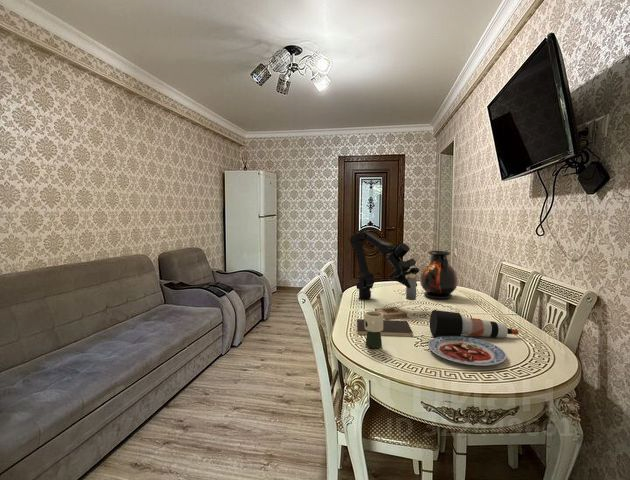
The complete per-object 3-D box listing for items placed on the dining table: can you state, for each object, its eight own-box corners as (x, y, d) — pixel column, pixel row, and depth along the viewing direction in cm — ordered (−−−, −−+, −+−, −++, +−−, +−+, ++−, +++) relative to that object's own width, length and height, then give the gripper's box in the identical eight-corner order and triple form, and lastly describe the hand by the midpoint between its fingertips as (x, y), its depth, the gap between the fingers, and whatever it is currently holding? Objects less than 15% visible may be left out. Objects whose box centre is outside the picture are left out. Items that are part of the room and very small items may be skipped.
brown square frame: (374, 312, 173) (374, 308, 173) (395, 310, 176) (395, 306, 176) (384, 319, 162) (385, 315, 161) (407, 317, 165) (407, 313, 164)
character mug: (365, 340, 135) (365, 308, 134) (383, 341, 133) (383, 309, 132) (363, 351, 124) (363, 317, 123) (382, 352, 123) (383, 318, 122)
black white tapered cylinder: (517, 350, 136) (527, 333, 130) (432, 339, 138) (438, 322, 132) (507, 331, 144) (516, 314, 139) (428, 321, 146) (433, 304, 141)
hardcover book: (412, 337, 139) (412, 332, 139) (357, 335, 142) (357, 330, 142) (406, 325, 155) (406, 320, 155) (356, 323, 158) (356, 318, 157)
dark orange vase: (414, 293, 213) (414, 250, 211) (446, 292, 216) (447, 249, 214) (429, 302, 192) (430, 254, 190) (464, 301, 194) (465, 253, 192)
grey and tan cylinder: (405, 299, 171) (406, 274, 170) (406, 297, 176) (406, 273, 175) (416, 300, 170) (416, 275, 169) (415, 298, 175) (416, 273, 174)
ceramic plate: (468, 377, 105) (468, 368, 105) (413, 347, 128) (413, 339, 128) (523, 362, 115) (523, 354, 115) (463, 337, 139) (463, 330, 138)
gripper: (393, 255, 169) (411, 280, 161) (417, 252, 180) (434, 275, 172) (381, 268, 176) (397, 292, 168) (405, 265, 187) (421, 287, 179)
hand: (413, 286), depth 172 cm, fingers closed on grey and tan cylinder, 5 cm apart
